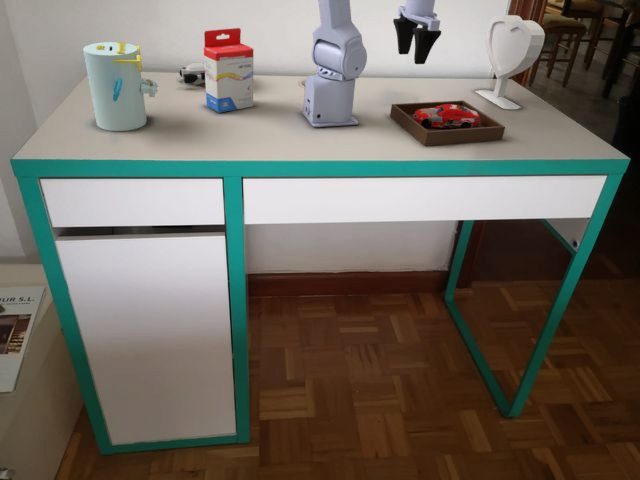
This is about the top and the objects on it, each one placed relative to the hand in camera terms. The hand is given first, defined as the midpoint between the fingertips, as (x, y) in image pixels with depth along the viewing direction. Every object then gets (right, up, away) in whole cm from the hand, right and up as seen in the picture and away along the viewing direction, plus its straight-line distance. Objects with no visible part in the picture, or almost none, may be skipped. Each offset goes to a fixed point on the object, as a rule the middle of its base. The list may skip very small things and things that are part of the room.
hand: (411, 58), depth 111 cm
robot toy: (-44, -4, +6) cm, 45 cm away
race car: (+6, -16, -7) cm, 18 cm away
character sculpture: (-55, -17, -15) cm, 60 cm away
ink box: (-38, -12, -5) cm, 40 cm away
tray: (+5, -16, -7) cm, 19 cm away
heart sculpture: (+22, -6, +11) cm, 26 cm away
